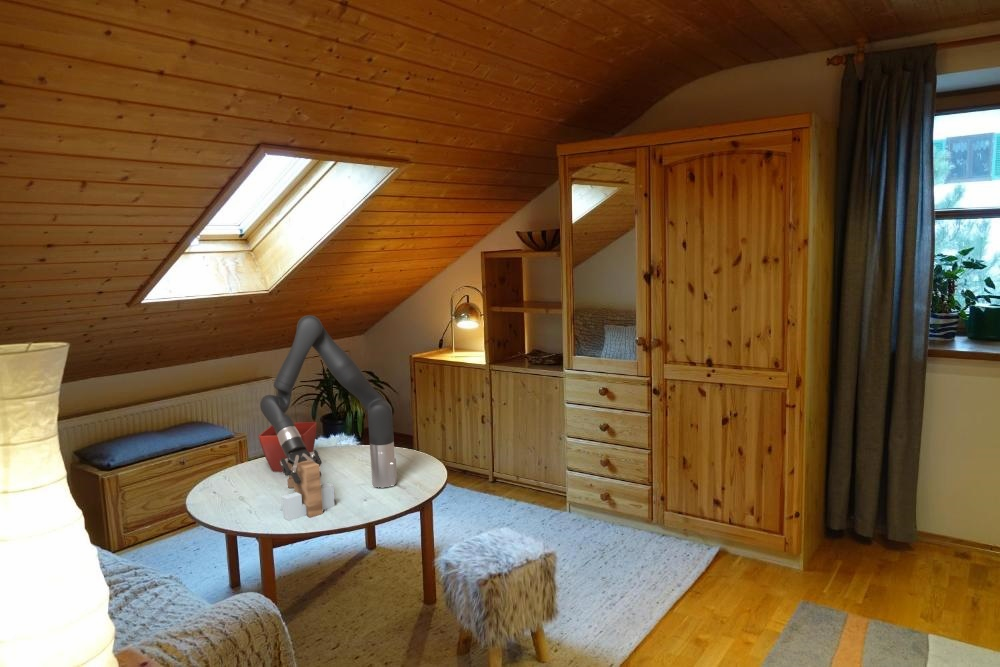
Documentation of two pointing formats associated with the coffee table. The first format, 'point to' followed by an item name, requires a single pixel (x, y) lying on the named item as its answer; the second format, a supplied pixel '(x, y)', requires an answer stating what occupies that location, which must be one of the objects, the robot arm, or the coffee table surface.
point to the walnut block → (309, 487)
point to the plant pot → (274, 448)
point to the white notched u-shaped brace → (297, 509)
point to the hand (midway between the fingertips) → (309, 480)
